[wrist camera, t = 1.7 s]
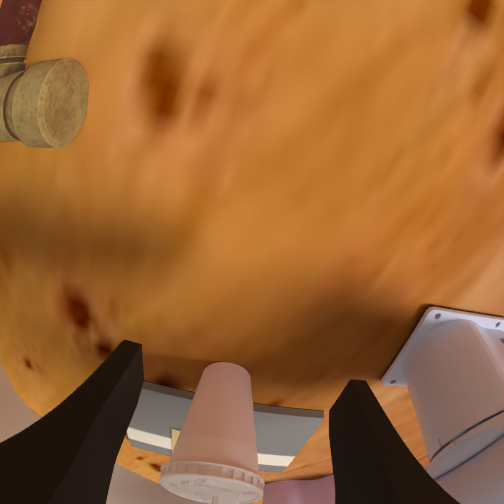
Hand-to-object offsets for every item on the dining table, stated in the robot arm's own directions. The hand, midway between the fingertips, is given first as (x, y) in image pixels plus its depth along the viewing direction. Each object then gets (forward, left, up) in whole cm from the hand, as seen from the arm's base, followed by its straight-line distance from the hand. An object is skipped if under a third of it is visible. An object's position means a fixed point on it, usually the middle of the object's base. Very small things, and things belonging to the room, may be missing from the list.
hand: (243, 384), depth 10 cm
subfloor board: (0, +21, -9) cm, 23 cm away
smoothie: (0, +11, -9) cm, 14 cm away
